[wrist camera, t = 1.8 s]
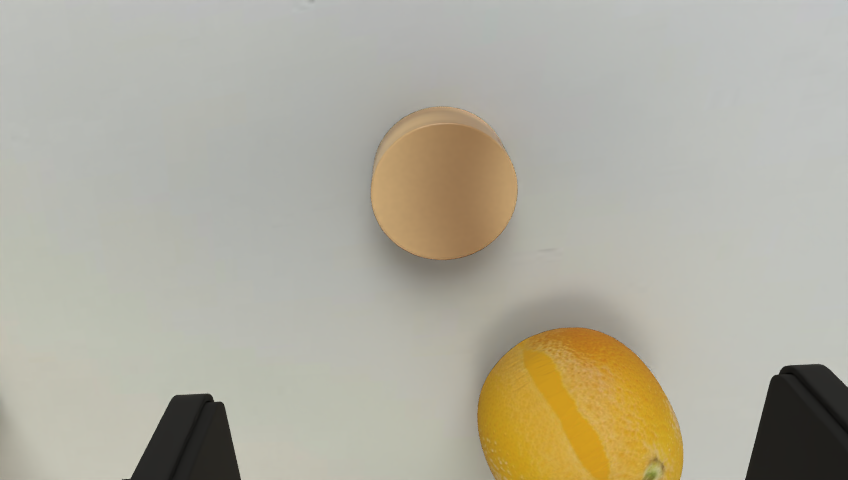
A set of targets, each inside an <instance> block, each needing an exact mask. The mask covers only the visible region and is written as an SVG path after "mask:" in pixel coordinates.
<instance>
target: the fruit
mask: <svg viewBox="0 0 848 480" xmlns="http://www.w3.org/2000/svg"><path fill="white" fill-rule="evenodd" d="M477 416H478V431H479V437H480V441H481V445H482V449H483V452H484V455H485V458H486V461H487V463H488V465H489V467H490V470H491V472H492V474H493V476H494V478H495V479H496V480H680V477H681V473H682V467H683V443H682V436H681V432H680V428H679V424H678V421H677V418H676V416H675V413H674V411H673V408H672V406H671V404H670V402H669V400H668V398H667V397H666V395H665V393H664V391H663V390H662V388H661V386H660V384H659V383H658V381H657V380H656V378H655V377H654V375H653V374H652V373H651V371H650V370H649V369H648V368H647V366H646V365H645V364H644V363H643V362H642V361H641V360H640V358H639V357H638V356H637V355H636V354H635V353H633V352H632V351H631V350H630V349H629V348H628V347H626V346H625V345H624V344H622V343H621V342H619V341H618V340H616V339H614V338H612V337H611V336H609V335H606V334H604V333H601V332H599V331H595V330H591V329H586V328H559V329H553V330H549V331H545V332H542V333H539V334H537V335H534V336H532V337H529V338H527V339H525V340H523V341H522V342H520V343H519V344H517V345H516V346H515V347H514V348H512V349H511V350H510V351H509V352H507V353H506V354H505V355H504V356H503V357H502V358H501V359H500V360H499V361H498V363H497V364H496V365H495V366H494V368H493V369H492V370H491V372H490V373H489V375H488V377H487V378H486V380H485V383H484V385H483V387H482V390H481V394H480V397H479V403H478V413H477Z"/></svg>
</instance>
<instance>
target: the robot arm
mask: <svg viewBox="0 0 848 480" xmlns="http://www.w3.org/2000/svg"><path fill="white" fill-rule="evenodd" d="M122 480H241V478H240V473H239V469H238V464H237V460H236V455H235V451H234V446H233V442H232V437H231V433H230V428H229V424H228V419H227V415H226V410H225V407H224V404H223V403H222V402H214V400H213V397H212V396H211V394H190V395H176V396H174V397H173V398H172V400H171V401H170V403H169V405H168V407H167V409H166V411H165V413H164V415H163V416H162V418H161V420H160V422H159V424H158V426H157V428H156V430H155V432H154V434H153V436H152V438H151V440H150V442H149V444H148V446H147V448H146V450H145V452H144V454H143V456H142V457H141V459H140V461H139V463H138V465H137V467H136V469H135V471H134V473H133V475H132V477H131V479H122ZM745 480H848V387H847V386H846V385H845V384H844V383H843V382H842V381H841V380H840V379H839V378H838V377H837V376H836V375H835V374H834V373H833V372H832V371H831V370H830V369H828V368H827V367H826V366H824V365H821V364H811V365H790V366H785V367H783V368H782V369H781V370H780V373H779V375H774V376H773V377H772V379H771V381H770V384H769V388H768V392H767V396H766V400H765V404H764V408H763V412H762V416H761V420H760V424H759V428H758V432H757V436H756V439H755V443H754V447H753V451H752V455H751V459H750V463H749V467H748V471H747V475H746V479H745Z"/></svg>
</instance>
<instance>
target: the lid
mask: <svg viewBox="0 0 848 480" xmlns="http://www.w3.org/2000/svg"><path fill="white" fill-rule="evenodd" d="M517 192H518V188H517V178H516V173H515V170H514V167H513V164H512V162H511V160H510V158H509V156H508V154H507V152H506V150H505V148H504V146H503V144H502V143H501V141H500V139H499V137H498V136H497V134H496V133H495V131H494V130H493V129H492V128H491V127H490V126H489V125H488V124H487V123H486V122H485V121H483V120H482V119H481V118H479V117H478V116H476V115H474V114H472V113H470V112H468V111H465V110H462V109H458V108H453V107H431V108H426V109H422V110H419V111H416V112H414V113H411V114H410V115H408V116H406V117H404V118H403V119H401V120H400V121H399V122H397V123H396V124H395V125H394V126H393V127H392V128H391V129H390V130H389V131H388V132H387V134H386V135H385V136H384V138H383V140H382V141H381V143H380V145H379V147H378V150H377V152H376V156H375V159H374V166H373V175H372V183H371V202H372V208H373V211H374V214H375V217H376V219H377V221H378V224H379V225H380V227H381V228H382V230H383V231H384V233H385V234H386V235H387V236H388V237H389V238H390V239H391V240H392V241H393V242H394V243H395V244H396V245H398V246H399V247H401V248H402V249H404V250H406V251H408V252H409V253H411V254H414V255H417V256H419V257H423V258H427V259H435V260H450V259H457V258H461V257H465V256H468V255H471V254H473V253H475V252H477V251H479V250H481V249H483V248H484V247H486V246H487V245H489V244H490V243H491V242H492V241H494V240H495V239H496V238H497V237H498V236H499V235H500V234H501V233H502V231H503V230H504V228H505V227H506V226H507V224H508V222H509V220H510V219H511V217H512V214H513V212H514V209H515V205H516V201H517Z"/></svg>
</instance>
